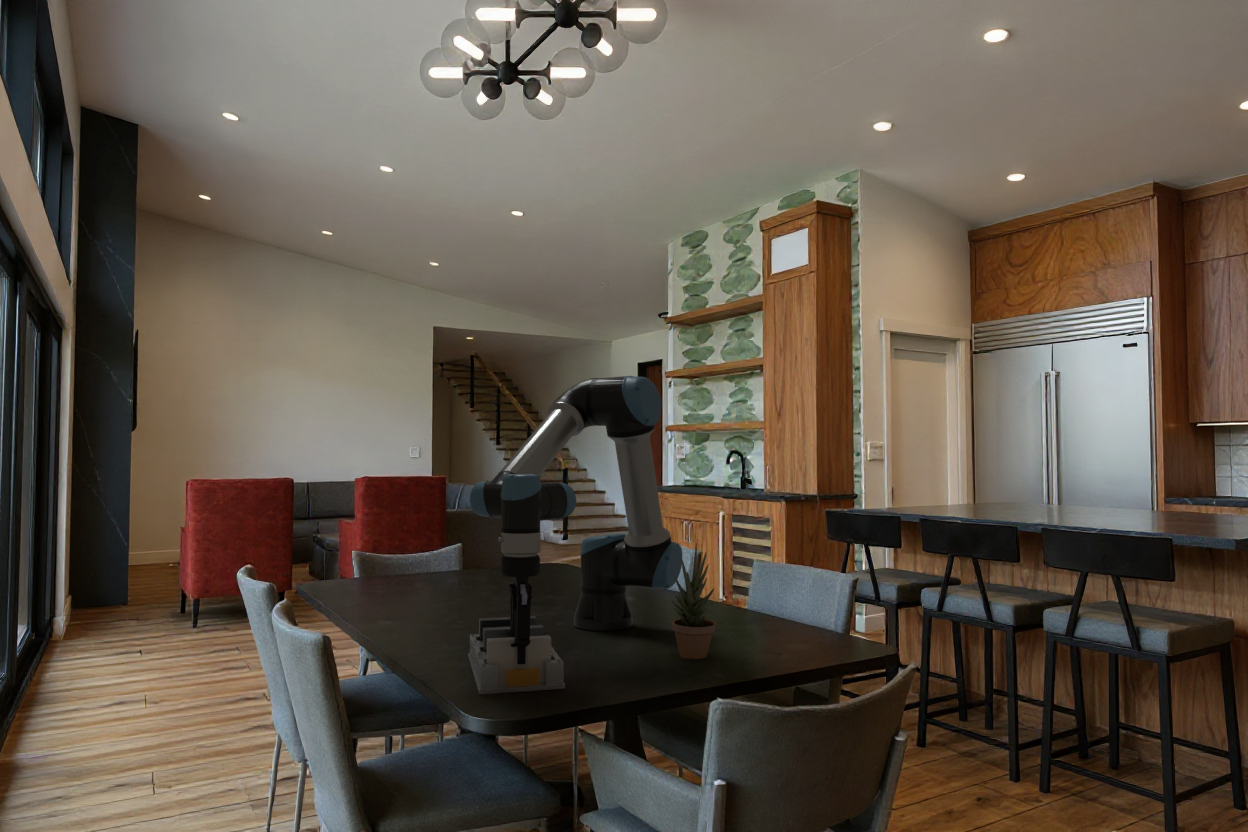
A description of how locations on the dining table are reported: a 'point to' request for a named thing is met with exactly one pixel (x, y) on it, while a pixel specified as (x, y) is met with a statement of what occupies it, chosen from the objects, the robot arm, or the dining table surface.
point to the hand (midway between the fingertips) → (519, 677)
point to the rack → (516, 677)
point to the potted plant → (693, 615)
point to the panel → (503, 654)
